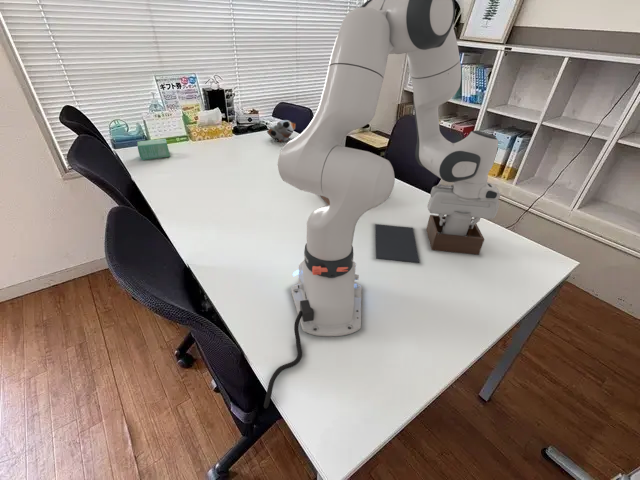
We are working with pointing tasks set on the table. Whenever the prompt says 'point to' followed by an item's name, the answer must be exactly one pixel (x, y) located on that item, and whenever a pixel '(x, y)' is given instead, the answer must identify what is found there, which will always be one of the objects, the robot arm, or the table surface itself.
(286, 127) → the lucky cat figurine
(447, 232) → the can
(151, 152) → the box
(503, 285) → the table surface
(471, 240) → the crate
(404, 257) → the mat
